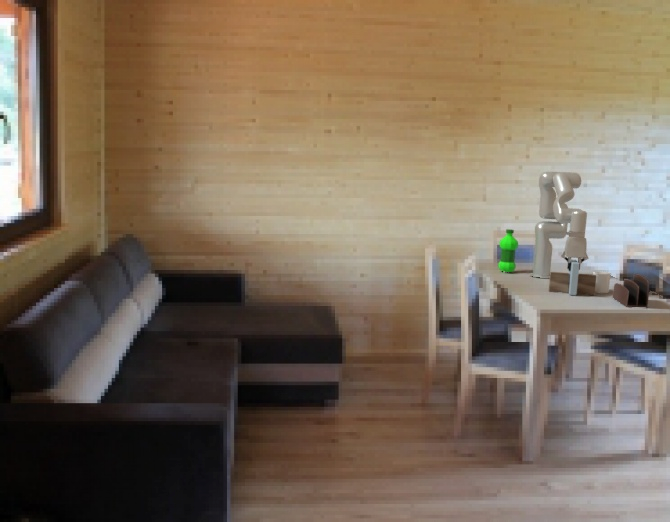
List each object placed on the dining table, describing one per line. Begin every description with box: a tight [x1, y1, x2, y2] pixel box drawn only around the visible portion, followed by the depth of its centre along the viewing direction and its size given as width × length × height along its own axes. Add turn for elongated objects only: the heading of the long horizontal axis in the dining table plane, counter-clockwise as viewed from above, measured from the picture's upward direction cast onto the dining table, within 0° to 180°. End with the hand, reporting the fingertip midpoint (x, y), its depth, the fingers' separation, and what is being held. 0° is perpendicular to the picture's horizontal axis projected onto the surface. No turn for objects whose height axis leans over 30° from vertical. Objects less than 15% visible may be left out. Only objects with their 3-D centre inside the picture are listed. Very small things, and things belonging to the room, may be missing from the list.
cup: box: [592, 270, 611, 294], centre depth 365 cm, size 8×12×10 cm
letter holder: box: [612, 273, 651, 308], centre depth 339 cm, size 10×20×14 cm, turn 177°
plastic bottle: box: [498, 228, 519, 273], centre depth 408 cm, size 10×10×25 cm
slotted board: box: [548, 271, 596, 296], centre depth 357 cm, size 3×22×10 cm, turn 79°
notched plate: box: [567, 258, 580, 296], centre depth 357 cm, size 14×3×16 cm, turn 169°
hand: (573, 270), depth 356 cm, fingers open, 3 cm apart
